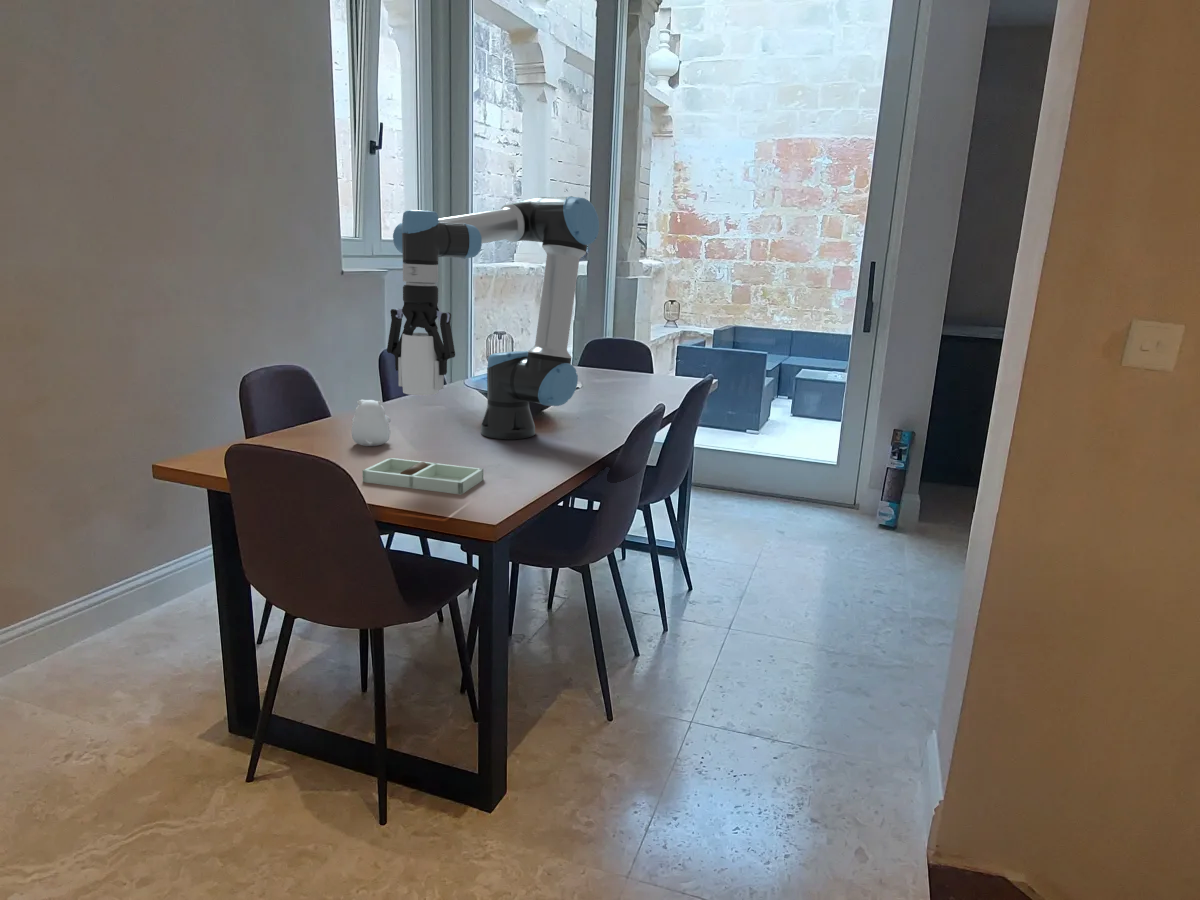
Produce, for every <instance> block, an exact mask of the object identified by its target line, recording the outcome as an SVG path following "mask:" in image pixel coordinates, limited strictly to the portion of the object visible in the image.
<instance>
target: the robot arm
mask: <svg viewBox="0 0 1200 900" xmlns="http://www.w3.org/2000/svg"><path fill="white" fill-rule="evenodd" d="M595 208H596V207H595V206H594V204H593V203H592V202H591V201H590V200H588V199H587V198H584V197H579V196H572V195H571V196H556V197H554V196H553V197H552V196H550V197H549V196H548V197H547V196H540V197H539V196H538V197H534V198H530V199H525V200H521V201H517V202H513V203H507V204H504V205H503V206H501V207H500V208H499V209H494V210H487V211H481V212H475V213H468V214H461V215H460V214H459V215H453V216H448V217H441V218H439V214H438V212H437V211H433V210H432V211H430V210H421V209H420V210H418V209H407V210H405V211H404V212H403V214H402V221H401V222H400V223H399V224H398V225H397V226H395V227H394V230H393V234H392V239H393V240H392V241H393V244H394V247H395V249H396V250H397V251H399V253H401V254H402V281H403V282H404V283H405V284H403V286H402V300H403V306H402V308H392V309H391V310H390V318H391V321H390V328H389V333H388V334H389V335H388V340H387V346H386V352H387V353H388V354H391V355H394V361H395V362H394V363H395V366H394V367H395V368H394V369H395V371H396V372H398V373H397V375H398V376H397V377H398V387H402V388H403V386H402V369H401V346H402V334H405V335H410V336H412V334H413V333H415V330H416V328H421V329H424V330H425V333H428V335H429V336H433V344H434V350H435V353H436V355H437V358H438V359H436V361H435V390H439V391H441V390H444V387H445V385H444V383H445V382H444V381H445V379H444V377H445V376H446V375H447V373H448V360H450V359H454V358H455V357H456V350H455V345H454V338H453V334H452V333H453V332H452V326H451V319H452V314H451V312H445V311H444V312H443V311H440V310H439V308H438V307H439V306H438V305H439V287H438V286H437V285H436V284H438V283H439V258H455V259H457V258H458V259H464V260H465V259H471V258H474V257H476V256H477V255H479V253H480V251H481V248H482V244H487V243H493V242H498V241H503V240H506V241H508V242H512V243H513V242H514V243H515V242H520V241H522V242H523V241H525V242H526V241H527V242H537V243H542V244H541V247H542V249H543V250H544V251H545V253H546V258H545V267H544V275H543V283H542V290H541V297H540V304H539V313H538V321H537V325H536V326H537V328H536V335H535V342H534V346H533V347H531V348H530V349H529V350H528V351H527V350H522V351H521V350H520V351H519V350H518V351H504V352H494V353H491V354H490V355H489V356H488V357H487V367H486V378H487V380H486V383H487V384H486V385H487V395H486V396H487V403H486V404H487V405H486V410H485V412H484V415H483V419H482V422H481V425H480V434H481V435H482V436H484V437H486V438H490V439H497V440H522V439H527V438H532V437H533V436H534V435H536V426H535V425H536V424H535V422H534V419H533V415H532V411H531V409H530V402H531V403H536V404H539V405H542V406H548V407H549V406H552V407H559V406H564V405H565V404H566V403H568V401H569V400H571V399H572V397H573V395H574V394H575V392H576V389H577V386H578V382H579V380H578V379H579V376H578V373H577V369H576V368H575V366H574V365H572V356H571V354H570V353H569V352H568V345H569V344H568V343H569V340H570V339H569V337H570V331H571V324H572V323H571V322H572V316H573V315H572V314H573V309H574V302H575V295H576V286H577V279H578V273H579V272H578V271H579V264H580V259H582V258H583V257H584V256H586V255H587V249H588V246H589V245H591V244H593V243H594V242H595V240H596V239H598V238H597V237H598V235H599V232H600V220H599V215H598V212H597V210H596V209H595ZM403 317H404V318H405V319H406V320H405V323H404V324H403V323H402V322H403ZM436 320H438V321H439V327H440V332H441V335H440V332H439V331H438V330H439V329H438V324H437V322H436ZM402 324H403V329H402ZM401 329H402V332H401Z"/></svg>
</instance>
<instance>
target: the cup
mask: <svg viewBox="0 0 1200 900" xmlns="http://www.w3.org/2000/svg"><path fill="white" fill-rule="evenodd" d="M401 335H402V346H401V369H402V392H403V394H405V395H410V396H432V395H437V394H439V393H440V390H435V361H436V359H438V358H437V355H436V353H435V350H434V344H433V336H429V335H428V333H427V332H413V334H412V336H410V335H405V334H402V333H401Z"/></svg>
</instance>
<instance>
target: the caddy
mask: <svg viewBox="0 0 1200 900" xmlns="http://www.w3.org/2000/svg"><path fill="white" fill-rule="evenodd" d="M420 462H423V461H420V460H413V459H411V460H410V459H406V458H405V459H403V458H397V457H388V458H386V459H384V460H382V461H380V462H378V463H376V464H373V465H371V466H369V467H367V468H365V469H363V470H362V483H368V484H376V485H377V484H378V485H385V486H392V487H399V488H408V489H413V490H414V489H416V490H421V491H422V490H423V491H431V492H437V493H438V492H439V493H446V494H447V493H448V494H454V495H463V494H465V493H466V492H468V491H469V490H470V489H472V488H473V487H475V486H477V485H478V484H480V482H482V481H484V468H481V467H471V466H464V465H453V464H448V463H447V464H446V463H445V464H444V463H438V462H429V461H424V462H425V463H426V464H427V465H428V467H426V468H424V469H422V470H420V471H418V472H417V473H415V474H413V475H404V474H400V473H401V472H402V471H404V470H406V469H408V468H410V467H412V466H414V465H416V464H418V463H420Z"/></svg>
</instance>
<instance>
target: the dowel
mask: <svg viewBox="0 0 1200 900" xmlns="http://www.w3.org/2000/svg"><path fill="white" fill-rule="evenodd" d="M425 462H426V461H422V462H420V463H418V464H416V465H414V466H412V467H410V468H408V469H406V470H404V471H402V472H401V473H400V474H404V475H413V474H415V473H417V472H418V471H420V470H422V469H424V468H426V467H428V465H427V464H426V463H425Z"/></svg>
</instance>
